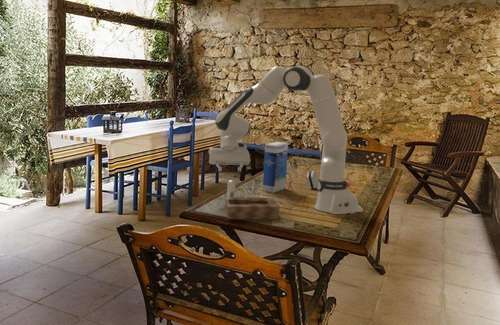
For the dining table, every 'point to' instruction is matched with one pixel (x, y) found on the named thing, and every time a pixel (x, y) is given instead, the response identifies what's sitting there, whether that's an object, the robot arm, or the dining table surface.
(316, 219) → the dining table surface
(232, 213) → the wooden compartment tray
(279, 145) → the string lights box
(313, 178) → the hinge
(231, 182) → the steel peg
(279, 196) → the dining table surface
